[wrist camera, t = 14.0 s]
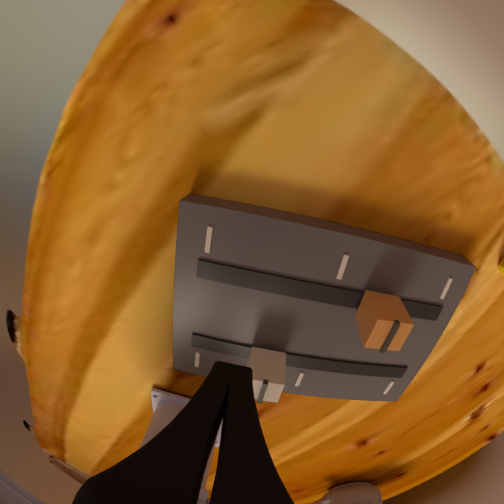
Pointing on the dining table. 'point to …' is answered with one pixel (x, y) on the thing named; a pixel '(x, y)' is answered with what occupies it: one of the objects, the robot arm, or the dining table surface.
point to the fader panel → (304, 297)
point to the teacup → (352, 494)
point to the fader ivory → (267, 373)
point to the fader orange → (383, 321)
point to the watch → (501, 266)
